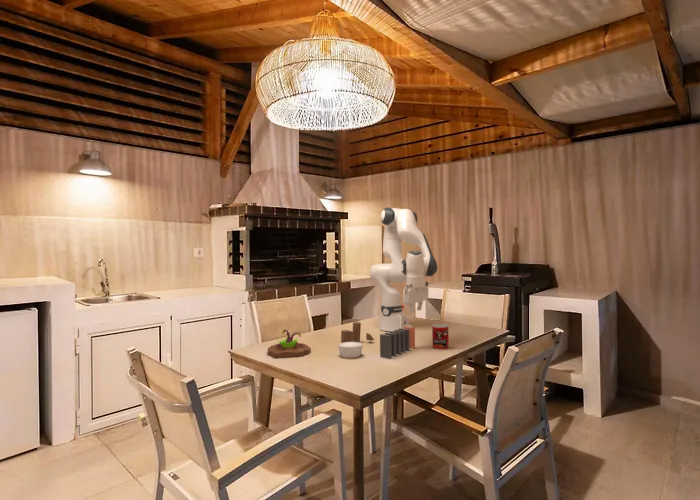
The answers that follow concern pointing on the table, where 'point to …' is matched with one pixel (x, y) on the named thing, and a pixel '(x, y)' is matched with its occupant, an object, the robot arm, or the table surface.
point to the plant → (289, 348)
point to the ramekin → (350, 349)
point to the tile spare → (411, 336)
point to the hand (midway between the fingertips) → (416, 311)
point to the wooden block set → (353, 334)
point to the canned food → (440, 336)
